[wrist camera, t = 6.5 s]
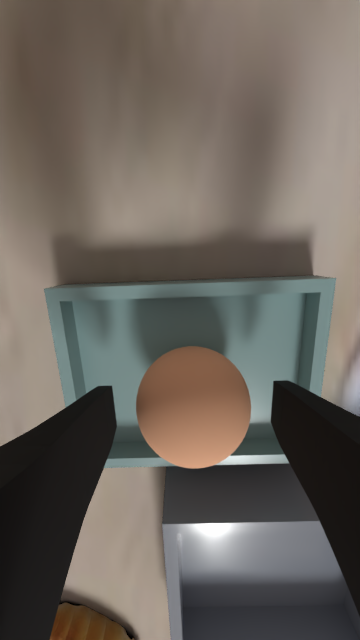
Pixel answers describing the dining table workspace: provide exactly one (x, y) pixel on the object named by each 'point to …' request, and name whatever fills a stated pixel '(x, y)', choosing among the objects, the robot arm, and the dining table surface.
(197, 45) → the dining table surface
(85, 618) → the pastry
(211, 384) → the egg
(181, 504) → the open square box
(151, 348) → the tray
